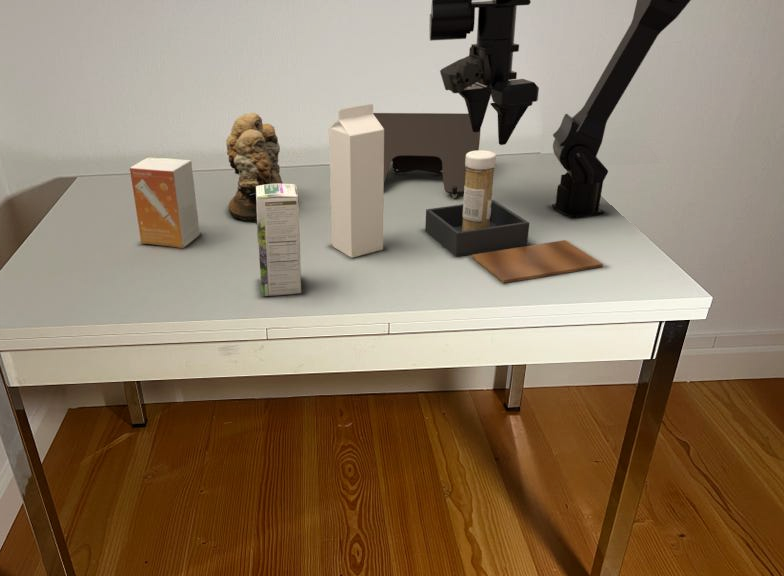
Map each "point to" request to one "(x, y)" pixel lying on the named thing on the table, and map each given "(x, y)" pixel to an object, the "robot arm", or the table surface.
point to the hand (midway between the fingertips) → (488, 138)
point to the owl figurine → (252, 162)
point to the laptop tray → (429, 145)
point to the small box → (165, 201)
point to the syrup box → (278, 239)
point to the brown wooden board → (535, 261)
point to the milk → (357, 181)
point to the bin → (476, 230)
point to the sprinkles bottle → (478, 189)
